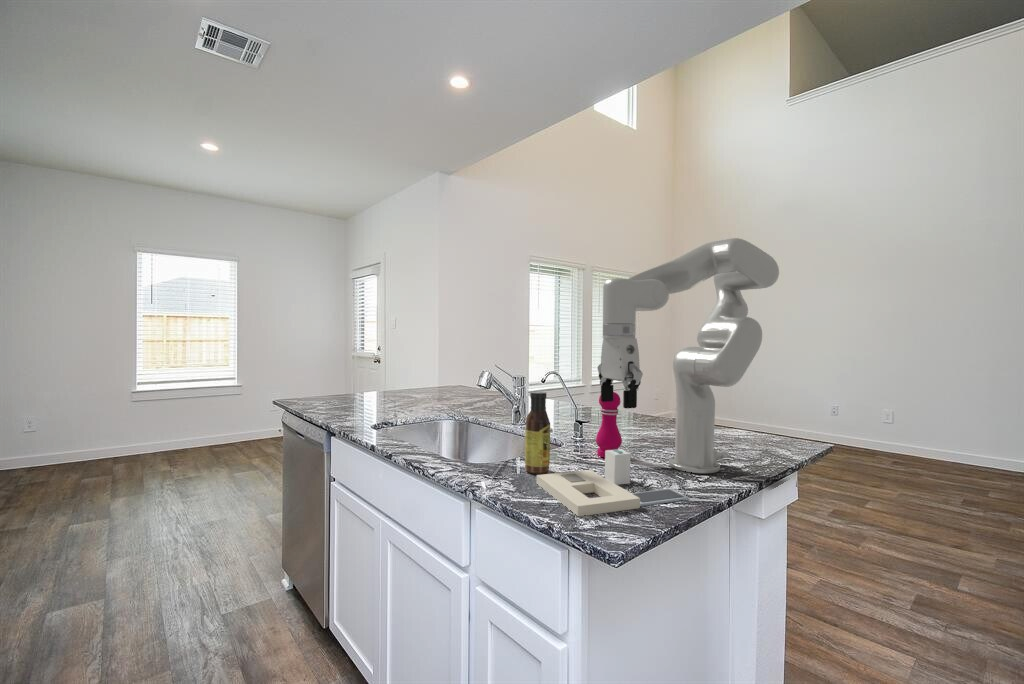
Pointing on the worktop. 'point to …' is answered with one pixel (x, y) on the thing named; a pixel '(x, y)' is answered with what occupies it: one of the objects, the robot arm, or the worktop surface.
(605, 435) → the pepper mill
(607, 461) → the plug
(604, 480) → the outlet plate
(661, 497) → the plate
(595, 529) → the worktop surface
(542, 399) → the sauce bottle
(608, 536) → the worktop surface
